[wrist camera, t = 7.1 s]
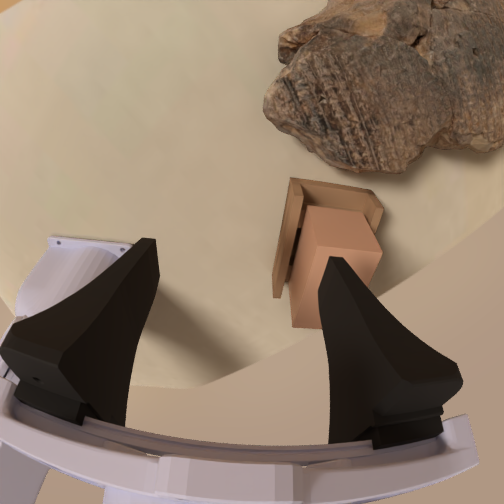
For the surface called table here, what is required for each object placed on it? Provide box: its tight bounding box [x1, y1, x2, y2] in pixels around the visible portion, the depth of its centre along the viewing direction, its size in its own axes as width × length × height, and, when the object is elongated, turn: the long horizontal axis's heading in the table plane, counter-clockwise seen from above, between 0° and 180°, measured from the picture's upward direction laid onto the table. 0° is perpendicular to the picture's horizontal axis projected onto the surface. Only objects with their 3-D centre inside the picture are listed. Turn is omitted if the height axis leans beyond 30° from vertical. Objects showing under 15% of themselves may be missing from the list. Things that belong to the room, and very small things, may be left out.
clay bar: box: [288, 205, 383, 329], centre depth 20 cm, size 7×4×4 cm, turn 174°
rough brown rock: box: [263, 0, 504, 174], centre depth 13 cm, size 14×5×20 cm
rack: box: [272, 177, 384, 298], centre depth 22 cm, size 9×6×3 cm
